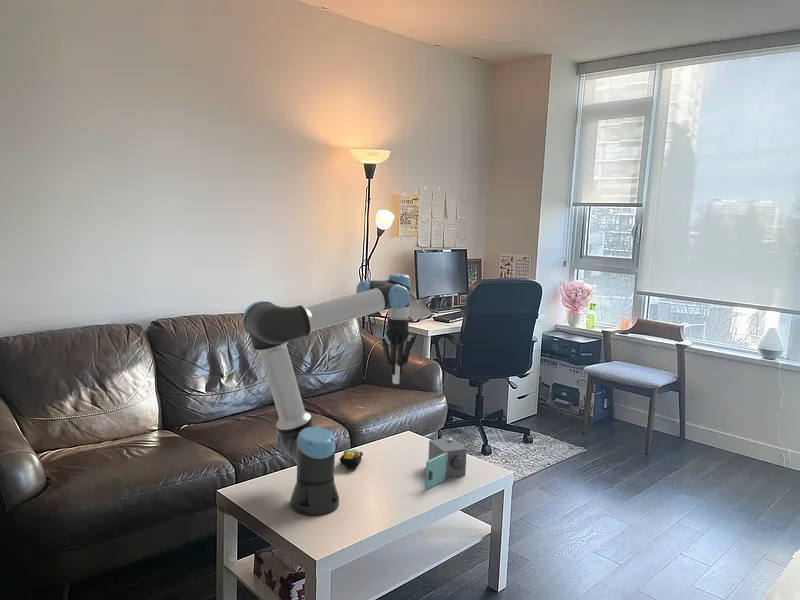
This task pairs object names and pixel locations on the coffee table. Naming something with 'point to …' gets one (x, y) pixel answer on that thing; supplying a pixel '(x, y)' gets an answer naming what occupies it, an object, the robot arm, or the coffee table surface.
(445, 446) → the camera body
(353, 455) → the gadget
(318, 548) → the coffee table surface
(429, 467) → the side door
